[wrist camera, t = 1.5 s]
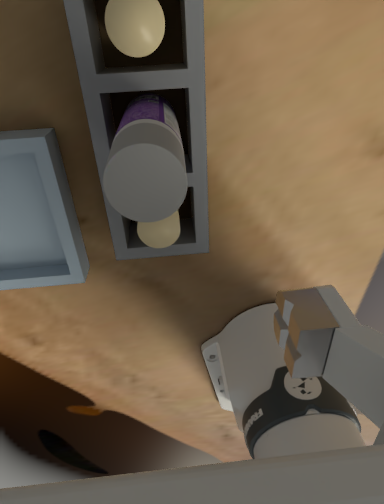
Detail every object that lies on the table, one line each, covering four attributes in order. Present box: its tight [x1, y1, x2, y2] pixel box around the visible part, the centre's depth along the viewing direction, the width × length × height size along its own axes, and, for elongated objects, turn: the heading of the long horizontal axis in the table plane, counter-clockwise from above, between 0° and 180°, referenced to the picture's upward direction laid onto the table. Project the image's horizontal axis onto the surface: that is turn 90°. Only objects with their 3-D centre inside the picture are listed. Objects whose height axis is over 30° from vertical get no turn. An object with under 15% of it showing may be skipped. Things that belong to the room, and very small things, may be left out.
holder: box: [63, 0, 209, 260], centre depth 28 cm, size 22×9×7 cm, turn 3°
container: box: [103, 93, 188, 222], centre depth 24 cm, size 5×5×15 cm
